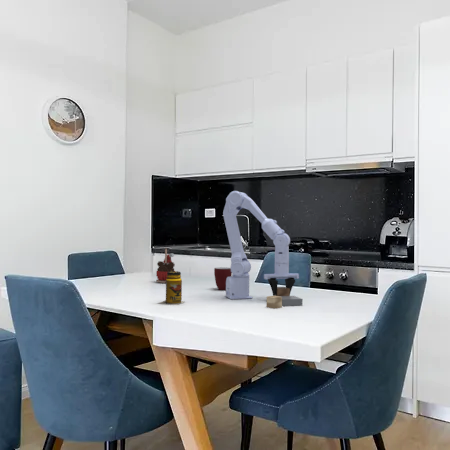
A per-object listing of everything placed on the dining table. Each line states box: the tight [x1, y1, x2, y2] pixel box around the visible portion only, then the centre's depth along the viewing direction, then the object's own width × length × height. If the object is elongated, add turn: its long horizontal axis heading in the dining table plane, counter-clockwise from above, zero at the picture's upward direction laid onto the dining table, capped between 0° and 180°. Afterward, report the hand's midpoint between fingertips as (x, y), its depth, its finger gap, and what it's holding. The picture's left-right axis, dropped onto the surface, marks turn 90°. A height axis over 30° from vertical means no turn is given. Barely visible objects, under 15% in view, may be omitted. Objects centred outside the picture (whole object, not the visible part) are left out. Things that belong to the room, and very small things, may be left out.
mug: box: [213, 266, 233, 291], centre depth 218 cm, size 10×8×10 cm
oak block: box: [266, 295, 283, 310], centre depth 173 cm, size 4×4×4 cm
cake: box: [155, 247, 175, 284], centre depth 241 cm, size 11×9×18 cm
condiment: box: [159, 270, 185, 306], centre depth 180 cm, size 7×8×12 cm
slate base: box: [279, 295, 303, 307], centre depth 180 cm, size 8×8×2 cm
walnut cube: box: [277, 286, 291, 296], centre depth 189 cm, size 5×5×5 cm
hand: (281, 296), depth 189 cm, fingers closed on walnut cube, 5 cm apart
